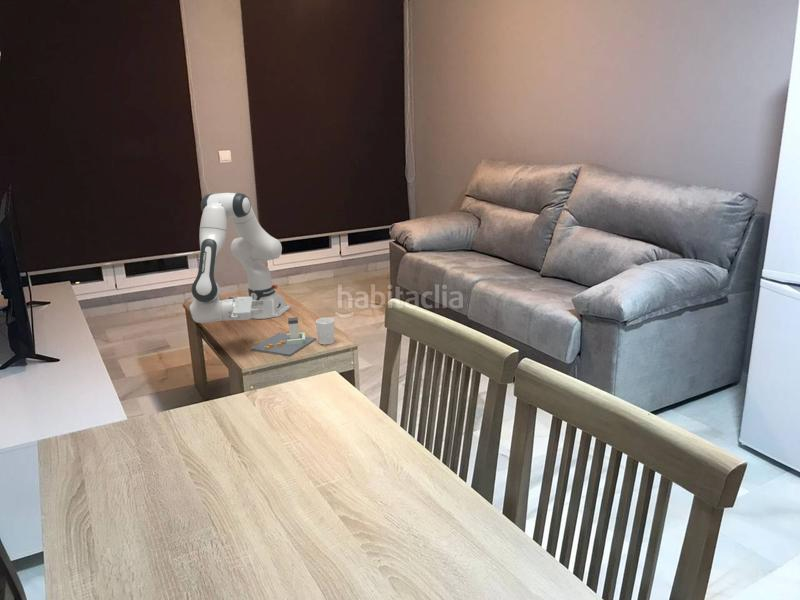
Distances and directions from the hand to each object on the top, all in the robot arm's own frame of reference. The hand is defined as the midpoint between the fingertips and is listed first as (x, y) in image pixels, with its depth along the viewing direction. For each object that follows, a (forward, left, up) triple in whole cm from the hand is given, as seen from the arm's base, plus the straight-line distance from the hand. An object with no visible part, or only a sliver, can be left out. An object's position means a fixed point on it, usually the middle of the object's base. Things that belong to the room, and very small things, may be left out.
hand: (263, 306), depth 278 cm
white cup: (-11, +23, -18) cm, 31 cm away
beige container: (-7, +10, -17) cm, 21 cm away
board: (-2, +7, -18) cm, 19 cm away
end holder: (-6, +10, -18) cm, 21 cm away
